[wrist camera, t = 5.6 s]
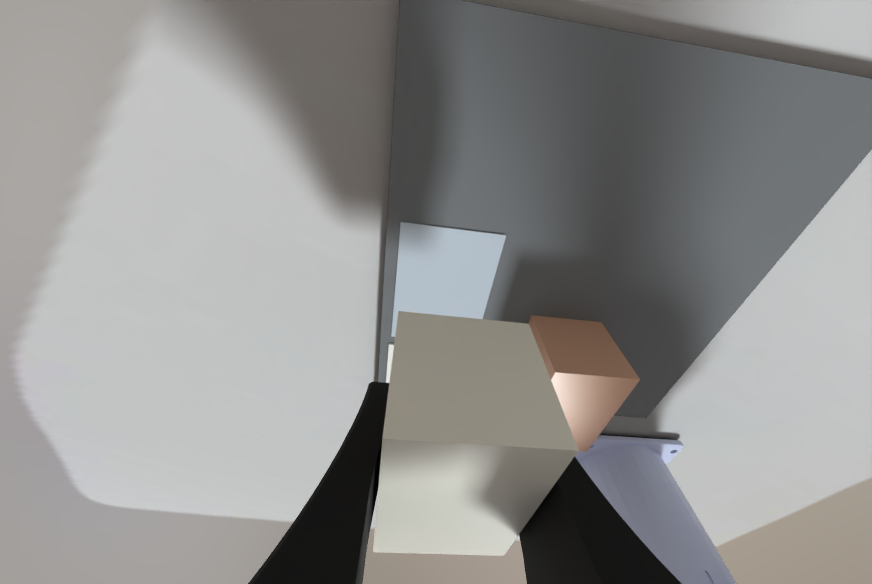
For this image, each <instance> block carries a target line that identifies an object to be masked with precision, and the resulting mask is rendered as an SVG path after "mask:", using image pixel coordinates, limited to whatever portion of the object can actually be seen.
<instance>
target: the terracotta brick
mask: <svg viewBox="0 0 872 584" xmlns="http://www.w3.org/2000/svg"><path fill="white" fill-rule="evenodd" d="M528 324H529V325H530V328H531V330H532V333H533V335H534V338H535V340H536V343H537V345H538V348H539V351H540V353H541V356H542V358H543V361H544V363H545V366H546V368H547V371H548V373H549V376H550V379H551V381H552V384H553V386H554V389H555V391H556V394H557V396H558V399H559V402H560V404H561V407H562V409H563V412H564V414H565V417H566V419H567V422H568V424H569V427H570V430H571V432H572V435H573V437H574V440H575V442H576V445H577V447H578V450H579V451H586V452H587V451H588V450H589V448H590V447H591V445H592V444H593V443H594V441H595V440H596V439H597V437H598V436H599V435H600V433H601V432H602V431H603V429H604V428H605V427H606V425H607V424H608V423H609V421H610V420H611V418H612V417H613V416H614V414H615V413H616V412H617V410H618V409H619V408H620V406H621V405H622V404H623V402H624V401H625V400H626V398H627V397H628V395H629V394H630V393H631V391H632V390H633V389H634V387H635V386H636V385H637V383H638V382H639V381H640V378H639V377H638V375H637V374H636V372H635V371H634V370H633V368H632V367H631V365H630V364H629V362H628V361H627V359H626V358H625V356H624V355H623V353H622V352H621V350H620V349H619V347H618V346H617V345H616V343H615V342H614V340H613V339H612V337H611V336H610V334H609V333H608V331H607V330H606V328H605V327H604V325H603V324H602V322H594V321H584V320H574V319H565V318H555V317H545V316H535V315H531V318H530V320H529V323H528Z"/></svg>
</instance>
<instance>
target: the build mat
mask: <svg viewBox="0 0 872 584" xmlns="http://www.w3.org/2000/svg"><path fill="white" fill-rule="evenodd" d="M871 149H872V79H870V78H865V77H860V76H855V75H849V74H844V73H839V72H834V71H828V70H823V69H818V68H813V67H807V66H802V65H797V64H792V63H786V62H781V61H776V60H771V59H765V58H760V57H755V56H750V55H745V54H739V53H734V52H729V51H724V50H718V49H713V48H708V47H703V46H697V45H692V44H687V43H682V42H676V41H671V40H666V39H661V38H656V37H650V36H645V35H640V34H635V33H629V32H624V31H619V30H614V29H608V28H603V27H598V26H593V25H587V24H582V23H577V22H572V21H566V20H561V19H556V18H551V17H546V16H540V15H535V14H530V13H525V12H519V11H514V10H509V9H504V8H498V7H493V6H488V5H483V4H477V3H472V2H467V1H462V0H400V3H399V21H398V38H397V56H396V73H395V91H394V108H393V126H392V144H391V161H390V179H389V196H388V214H387V231H386V249H385V266H384V284H383V301H382V319H381V336H380V354H379V371H378V382H383V383H389V382H390V374H391V366H392V358H393V350H394V342H395V334H396V326H397V318H398V311H404V312H414V313H424V314H434V315H445V316H455V317H465V318H475V319H485V320H495V321H506V322H516V323H526V324H528V323H529V320H530V318H531V315H535V316H545V317H555V318H565V319H574V320H584V321H594V322H602V324H603V325H604V327H605V328H606V330H607V331H608V333H609V334H610V336H611V337H612V339H613V340H614V342H615V343H616V345H617V346H618V347H619V349H620V350H621V352H622V353H623V355H624V356H625V358H626V359H627V361H628V362H629V364H630V365H631V367H632V368H633V370H634V371H635V372H636V374H637V375H638V377H639V378H640V381H639V382H638V383H637V385H636V386H635V387H634V389H633V390H632V391H631V393H630V394H629V395H628V397H627V398H626V400H625V401H624V402H623V404H622V405H621V406H620V408H619V409H618V410H617V412H616V413H615V414H614V415H617V416H630V417H644V418H647V416H648V415H649V414H650V413H651V412H652V410H653V409H654V408H655V407H656V406H657V404H658V403H659V402H660V401H661V400H662V399H663V397H664V396H665V395H666V394H667V393H668V391H669V390H670V389H671V388H672V387H673V385H674V384H675V383H676V382H677V381H678V379H679V378H680V377H681V376H682V375H683V374H684V372H685V371H686V370H687V369H688V368H689V366H690V365H691V364H692V363H693V362H694V360H695V359H696V358H697V357H698V356H699V354H700V353H701V352H702V351H703V350H704V348H705V347H706V346H707V345H708V344H709V343H710V341H711V340H712V339H713V338H714V337H715V335H716V334H717V333H718V332H719V331H720V329H721V328H722V327H723V326H724V325H725V323H726V322H727V321H728V320H729V319H730V317H731V316H732V315H733V314H734V313H735V312H736V310H737V309H738V308H739V307H740V306H741V304H742V303H743V302H744V301H745V300H746V298H747V297H748V296H749V295H750V294H751V292H752V291H753V290H754V289H755V288H756V287H757V285H758V284H759V283H760V282H761V281H762V279H763V278H764V277H765V276H766V275H767V273H768V272H769V271H770V270H771V269H772V267H773V266H774V265H775V264H776V263H777V261H778V260H779V259H780V258H781V257H782V256H783V254H784V253H785V252H786V251H787V250H788V248H789V247H790V246H791V245H792V244H793V242H794V241H795V240H796V239H797V238H798V236H799V235H800V234H801V233H802V232H803V231H804V229H805V228H806V227H807V226H808V225H809V223H810V222H811V221H812V220H813V219H814V217H815V216H816V215H817V214H818V213H819V211H820V210H821V209H822V208H823V207H824V205H825V204H826V203H827V202H828V201H829V200H830V198H831V197H832V196H833V195H834V194H835V192H836V191H837V190H838V189H839V188H840V186H841V185H842V184H843V183H844V182H845V180H846V179H847V178H848V177H849V176H850V175H851V173H852V172H853V171H854V170H855V169H856V167H857V166H858V165H859V164H860V163H861V161H862V160H863V159H864V158H865V157H866V155H867V154H868V153H869V152H870V151H871Z"/></svg>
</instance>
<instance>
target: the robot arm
mask: <svg viewBox="0 0 872 584" xmlns="http://www.w3.org/2000/svg"><path fill="white" fill-rule="evenodd" d="M388 390H389V383H383V382H371V383H370V384H369V386H368V389H367V392H366V395H365V398H364V400H363V403H362V405H361V407H360V410H359V412H358V414H357V416H356V418H355V421H354V423H353V425H352V427H351V429H350V430H349V432H348V434H347V436H346V438H345V440H344V442H343V444H342V446H341V448H340V449H339V451H338V453H337V455H336V456H335V458H334V460H333V461H332V463H331V465H330V467H329V468H328V470H327V472H326V473H325V475H324V477H323V478H322V480H321V482H320V483H319V485H318V486H317V488H316V490H315V491H314V493H313V494H312V496H311V497H310V499H309V500H308V502H307V503H306V505H305V506H304V508H303V509H302V511H301V512H300V514H299V515H298V517H297V518H296V520H295V521H294V523H293V524H292V525H291V527H290V528H289V530H288V531H287V532H286V534H285V535H284V537H283V538H282V540H281V541H280V542H279V544H278V545H277V546H276V548H275V549H274V550H273V552H272V553H271V555H270V556H269V557H268V559H267V560H266V561H265V563H264V564H263V565H262V567H261V568H260V569H259V570H258V572H257V573H256V574H255V576H254V577H253V578H252V580H251V581H250V582H249V583H248V584H362V582H363V574H364V566H365V557H366V550H367V544H368V538H369V532H370V527H371V522H372V517H373V511H374V506H375V501H376V496H377V491H378V486H379V474H380V462H381V450H382V438H383V430H384V422H385V414H386V406H387V398H388ZM683 447H684V445H683V444H682V442H681V441H678V440H666V439H651V438H636V437H621V436H605V435H599V436H598V437H597V439H596V440H595V441H594V443H593V444H592V445H591V447H590V448H589V450H588V451H587V452H586V451H578V452H577V454H576V455H575V457H574V458H573V459H572V461H571V462H570V464H569V465H568V466H567V468H566V469H565V471H564V472H563V473H562V475H561V476H560V478H559V479H558V480H557V482H556V483H555V485H554V486H553V487H552V489H551V490H550V492H549V493H548V494H547V496H546V497H545V499H544V500H543V501H542V503H541V504H540V506H539V507H538V508H537V510H536V511H535V513H534V514H533V515H532V517H531V518H530V520H529V521H528V522H527V524H526V525H525V527H524V528H523V529H522V531H521V532H520V534H519V536H520V541H521V546H522V551H523V557H524V565H525V572H526V579H527V584H737V583H736V581H735V579H734V578H733V576H732V574H731V573H730V571H729V569H728V568H727V566H726V564H725V562H724V561H723V559H722V558H721V556H720V554H719V553H718V551H717V549H716V547H715V546H714V544H713V542H712V541H711V539H710V537H709V536H708V534H707V532H706V531H705V529H704V527H703V526H702V524H701V522H700V521H699V519H698V517H697V516H696V514H695V512H694V511H693V509H692V507H691V506H690V504H689V502H688V501H687V499H686V497H685V496H684V494H683V492H682V491H681V489H680V487H679V486H678V484H677V482H676V481H675V479H674V477H673V476H672V474H671V472H670V471H669V469H668V467H667V466H666V464H667V463H668V462H669V461H670V460H671V459H672V458H673V457H674V456H676V455H677V454H678V453H679V452H680V451H681V450H682V449H683Z"/></svg>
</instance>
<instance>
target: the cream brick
mask: <svg viewBox="0 0 872 584" xmlns="http://www.w3.org/2000/svg"><path fill="white" fill-rule="evenodd" d="M578 451H579V450H578V447H577V445H576V442H575V440H574V437H573V435H572V432H571V430H570V427H569V424H568V422H567V419H566V417H565V414H564V412H563V409H562V407H561V404H560V402H559V399H558V396H557V394H556V391H555V389H554V386H553V384H552V381H551V379H550V376H549V373H548V371H547V368H546V366H545V363H544V361H543V358H542V356H541V353H540V351H539V348H538V345H537V343H536V340H535V338H534V335H533V333H532V330H531V328H530V325H529V324H526V323H516V322H506V321H495V320H485V319H475V318H465V317H455V316H445V315H434V314H424V313H414V312H404V311H398V318H397V326H396V334H395V342H394V350H393V358H392V366H391V374H390V382H389V390H388V398H387V406H386V414H385V422H384V430H383V438H382V450H381V462H380V474H379V486H378V499H377V511H376V523H375V536H374V548H373V552H391V553H425V554H426V553H427V554H428V553H429V554H460V555H461V554H462V555H463V554H464V555H495V556H504V555H505V553H506V552H507V550H508V549H509V548H510V546H511V545H512V543H513V542H514V541H515V539H516V538H517V536H518V535H519V534H520V532H521V531H522V529H523V528H524V527H525V525H526V524H527V522H528V521H529V520H530V518H531V517H532V515H533V514H534V513H535V511H536V510H537V508H538V507H539V506H540V504H541V503H542V501H543V500H544V499H545V497H546V496H547V494H548V493H549V492H550V490H551V489H552V487H553V486H554V485H555V483H556V482H557V480H558V479H559V478H560V476H561V475H562V473H563V472H564V471H565V469H566V468H567V466H568V465H569V464H570V462H571V461H572V459H573V458H574V457H575V455H576V454H577V452H578Z"/></svg>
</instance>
